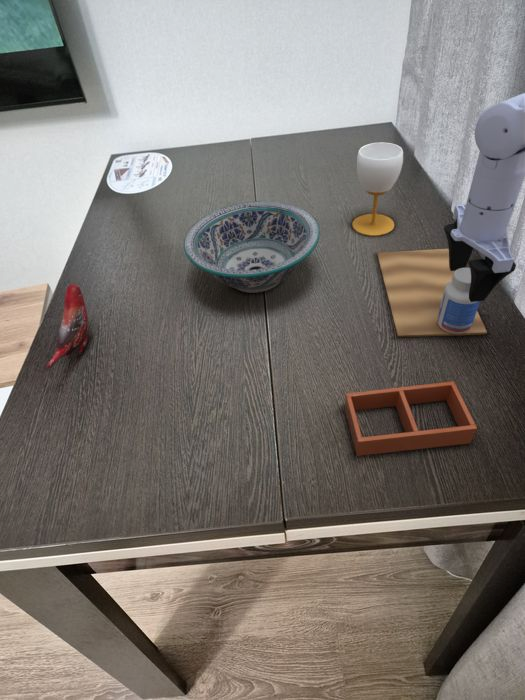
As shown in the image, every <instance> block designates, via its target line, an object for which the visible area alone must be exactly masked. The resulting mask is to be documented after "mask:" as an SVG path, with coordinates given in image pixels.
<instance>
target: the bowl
mask: <svg viewBox="0 0 525 700" xmlns="http://www.w3.org/2000/svg"><path fill="white" fill-rule="evenodd" d="M320 236H321V235H320V227H319V224H318V222H317V220H316V219H315V218H314V216H312V215H311V214H310V213H308V212H307V211H306V210H304V209H302V208H300V207H298V206H295V205H292V204H289V203H285V202H279V201H273V200H271V201H270V200H256V201H255V200H254V201H245V202H238V203H234V204H230V205H226V206H224V207H221V208H218V209H216V210H214V211H212V212H209V213H208V214H205V215H204V216H203V217H201V218H200V219H198V220H197V221H195V223H194V224H193V225H192V226H191V227H190V228H189V230H188V231H187V232H186V234H185V237H184V239H183V249H184V253H185V256H186V257H187V259H188V260H189V262H190V263H191V264H192V265H193V266H194V267H196V268H197V269H200V270H201V271H203V272H206V273H208V274H211V275H212V276H213V278H215V279H216V280H217V281H218V282H220V283H221V284H223V285H225V286H227V287H230V288H234V289H236V290H238V291H241V292H242V293H250V294H252V293H253V294H255V293H262V292H266V291H269V290H272V289H273V288H275V287H276V286H277V285H279V284H280V283H281V282H283V281H285V280H286V279H287V278H289V276H291V275H292V274H293V273H294V272H295V271H296V269H297V267H298V266H299V264H300V263H301V262H302V261H304V260H305V259H307V258H308V257H309V256H310V255H311V254H312V253H313V252H314V250H315V249H316V247H317V245H318V244H319V241H320Z"/></svg>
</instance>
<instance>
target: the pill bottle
mask: <svg viewBox="0 0 525 700" xmlns="http://www.w3.org/2000/svg"><path fill="white" fill-rule="evenodd" d="M470 284H471V270H470V267H465V268H460V269H457V270H456V271H455V272H454V274H453V277H452V281H450V282H449V283H448V284H447V285H446V287H445V290H444V294H443V298H442V302H441V306H440V310H439V314H438V319H437V322H438V325H439V326H440V328H441V329H443V330H444V331H446V332H449V333H453V334H462V333H465V332H467V331H469V330H470V329H471V327H472V324H473V321H474V318H475V315H476V312H477V311H478V309H479V306H480V303H481V301H477V302H470V300H469V290H470Z"/></svg>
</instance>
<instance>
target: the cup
mask: <svg viewBox="0 0 525 700" xmlns="http://www.w3.org/2000/svg"><path fill="white" fill-rule="evenodd" d="M403 164H404V150H403V148H402V147H401V146H400V145H398V144H395V143H392V142H382V141H381V142H371V143H368V144H365V145H363V146H361V147H360V148H359V150H358V151H357V157H356V173H357V177H358V182H359V185H360V187H361V188H362V189H363V191H365V192H366V193H367V194H369V195H371V196H373V203H372V212H371V213H366V214H363V215H362V214H361V215H359V216H358V217H356V218H354V220H353V221H352V228H353V230H354V231H355V232H356V233H358V234H360V235H363V236H368V237H381V236H384V235H387V234H389V233H391V232H392V231H394V228H395V222H394V220H393V219H392V218H390V217H389V216H387V215H385V214H380V213H377V211H378V202H379V201H378V200H379V196H382V195H385V194H386V193H388V192H389V191H390V190H392V189H393V187H394V186H395V184H396V183H397V181H398V179H399V176H400V175H401V172H402V168H403Z"/></svg>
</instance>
